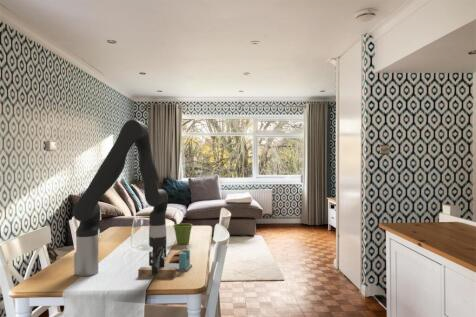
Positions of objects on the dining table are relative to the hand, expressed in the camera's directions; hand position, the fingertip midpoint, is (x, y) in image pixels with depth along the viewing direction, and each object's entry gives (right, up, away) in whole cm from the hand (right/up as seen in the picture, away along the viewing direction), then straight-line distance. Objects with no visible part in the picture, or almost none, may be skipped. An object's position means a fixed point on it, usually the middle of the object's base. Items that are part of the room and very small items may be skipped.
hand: (158, 271), depth 160 cm
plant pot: (+2, -2, +60) cm, 60 cm away
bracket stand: (+4, -2, +11) cm, 12 cm away
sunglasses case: (+5, -3, +26) cm, 27 cm away
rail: (0, -2, 0) cm, 2 cm away
